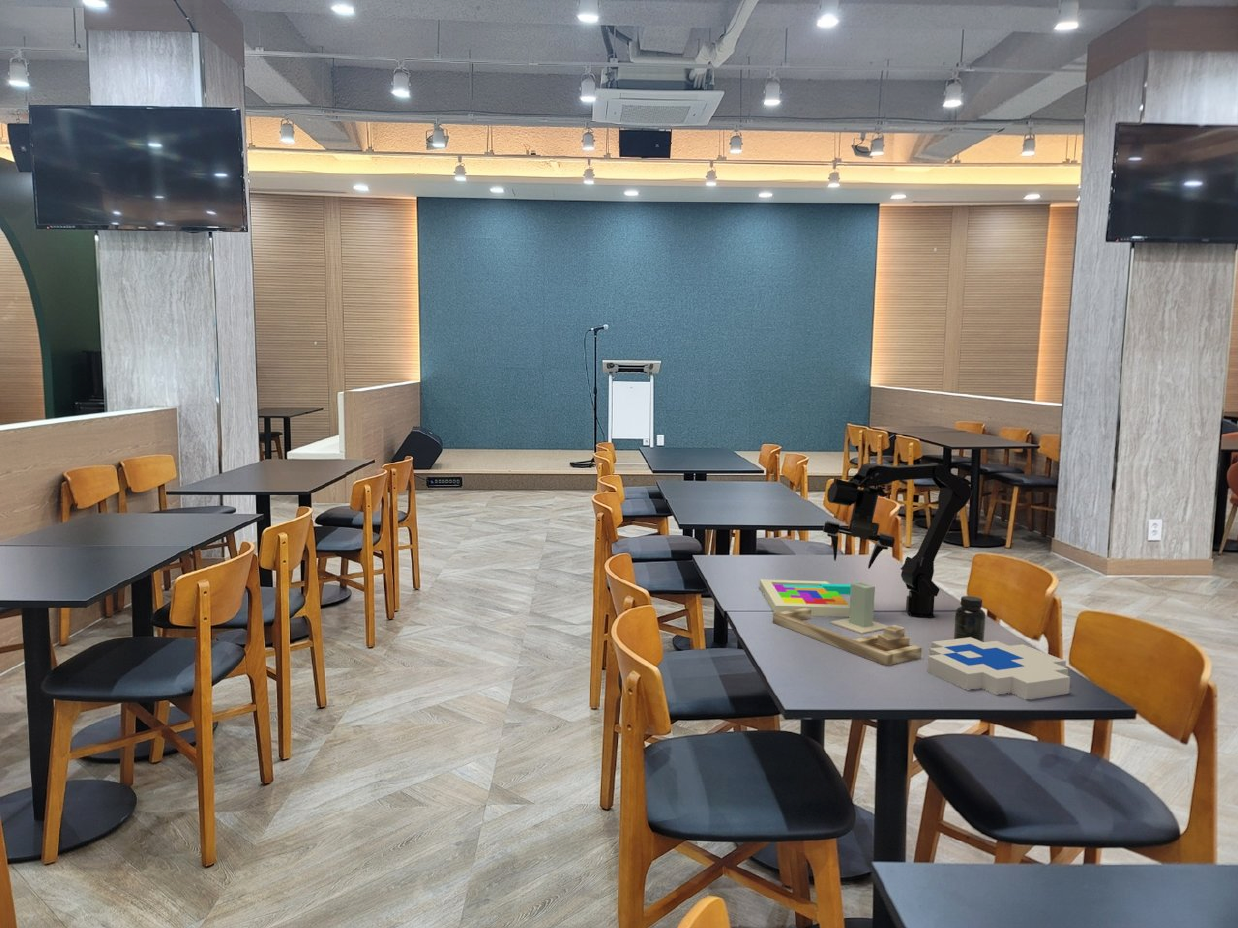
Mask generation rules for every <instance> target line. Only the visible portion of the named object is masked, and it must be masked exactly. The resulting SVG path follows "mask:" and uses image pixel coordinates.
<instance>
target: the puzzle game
mask: <svg viewBox="0 0 1238 928" xmlns="http://www.w3.org/2000/svg"><path fill="white" fill-rule="evenodd" d="M851 584H852V583H851ZM851 584H848V583H846V584H845V583H830V582H829V581H825V580H820V581H819V580H795V579H794V580H792V579H790V580H789V579H761V578H759V589H760V591H761V590H762V591H761V593H762V594H763V593H764V594H763V596H764V595H765V596H764V598H765V597H766V598H765V599H766V601H767V602H768V603H767V604H768V605H769V606H770V608H771V609H772V611H773V613H777V612H783V611H789V610H795V609H801V608H808V609H811V617H813V616H815V617H816V616H817V617H818V616H819V617H840V618H841V617H843V618H844V617H847V618H849V613H850V603H848V602H847V601H846V600H845V598H843V596H842V595H840V594H849V595H848V596H850V595H851Z"/></svg>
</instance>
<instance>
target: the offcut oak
mask: <svg viewBox="0 0 1238 928" xmlns="http://www.w3.org/2000/svg"><path fill="white" fill-rule="evenodd" d="M881 634H882V635H878V643H879V644H881V645H882V646H884V647H886V648H896V647H908V646H909V645H910V640H911V638H910V637H908V636H906V635H904V636H903V637H901V638H898V639H895V640H894V639H891V638H887V637H883V634H884V633H881Z"/></svg>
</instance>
